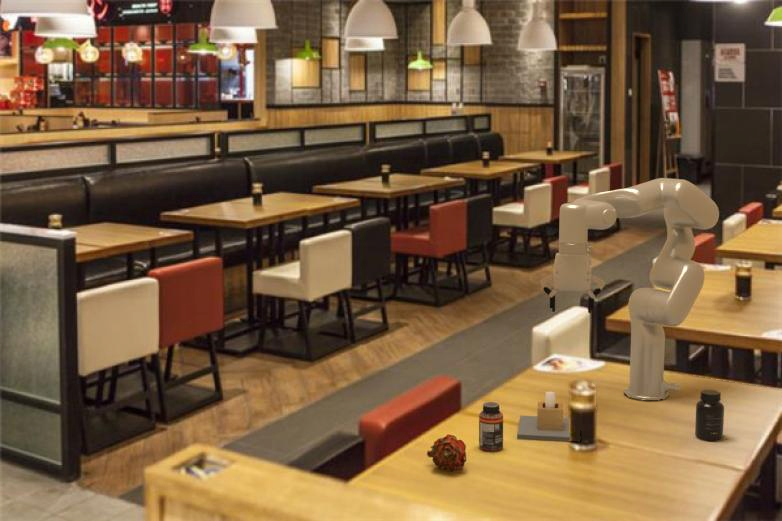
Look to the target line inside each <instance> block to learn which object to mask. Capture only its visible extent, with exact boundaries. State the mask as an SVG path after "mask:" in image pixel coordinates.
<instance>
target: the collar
mask: <svg viewBox="0 0 782 521" xmlns="http://www.w3.org/2000/svg"><path fill="white" fill-rule="evenodd" d="M536 412H537V415H536V416H537V430H558V431H563V418H564V402H557V401H555V408H545V401H537V411H536Z"/></svg>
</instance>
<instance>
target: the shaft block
mask: <svg viewBox="0 0 782 521" xmlns="http://www.w3.org/2000/svg"><path fill="white" fill-rule="evenodd" d="M544 402H545V408H555V402H556V392H555V391H551V390H550V391H548V390H547V391H546V392H545V401H544ZM569 418H570V417H563V431H558V430H537V415H520V416H519V419H518V420H519V421H518V427H517V433H516V434H517V435H516V438H517V440H528V441H531V440H532V441H546V442H547V441H548V442H549V441H550V442H568V443H570V442H569V440H570V432H569Z"/></svg>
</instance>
